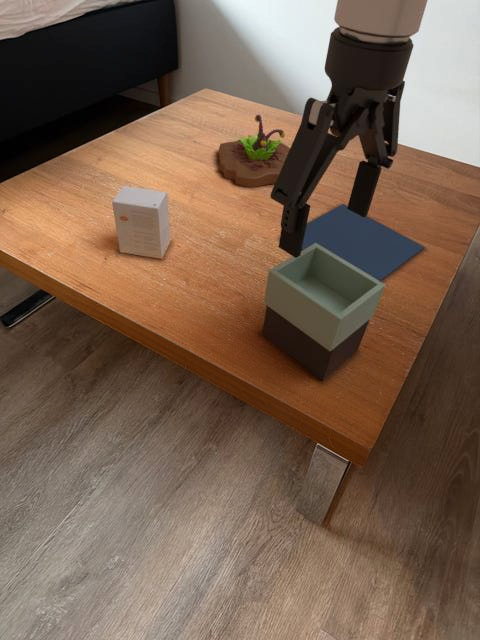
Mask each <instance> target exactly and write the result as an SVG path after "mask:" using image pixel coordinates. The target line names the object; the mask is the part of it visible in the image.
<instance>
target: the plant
mask: <svg viewBox="0 0 480 640" xmlns="http://www.w3.org/2000/svg"><path fill="white" fill-rule="evenodd" d="M254 121H255V122H256V123H258V133H256V135H255V137H254V136H253V135H251V134H248V135H247V137H248V138H245V137H240V136H239V137H238V139H237V140H235V141H234V140H233V141H227V142H221V143H220V144H219V147H218V157H219V172H220V173H222V174H223V177H224V178H225V179H226V180H227V179H228V180H231V181H234V183H235V185H239V186H241V187H244V188H245V187H246V188H255V187H260V186H265V185H275V183H276V180H277V178H278V176H279V173H280V171H281V169H282V166H283V164H284V162H285V160H286V157H287V155H288V153H289V150H290V148H291V147H289V146H288V145H287V144H285V143H283V142H282V140H281V139H278V140H272V139H270V137H271V136H272V135H274V134H275V133H278V136H279V137H280V138H282V139H283V138H285V136H286V132H285V131H284V130H283V129H281V128H280V129H279V128H277V129H273V130H271V131H270V132H269V133H268V134H266V133H264V125H263V120H262V115H261V114H256V115H255V117H254Z"/></svg>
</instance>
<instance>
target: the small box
mask: <svg viewBox="0 0 480 640" xmlns="http://www.w3.org/2000/svg"><path fill="white" fill-rule="evenodd" d="M168 196H169V195H168V191H162V190H157V189H149V188H143V187H136V186H130V185H129V186H128V185H123V186H122V188H121V189H120V190H119V192H118V193H117V194H116V196H115V197H114V198H113V200H112V201H111V205H112V210H113V217H114V223H115V230H116V235H117V242H118V247H119V252H120V253H122V254H123V253H124V254H130V255H136V256H142V257H148V258H154V259H159V260H162V259H163V257H164V255H165V253H166V251H167V249H168V247H169V246H170V243H171V228H170V214H169V213H170V212H169V200H168V198H169V197H168Z"/></svg>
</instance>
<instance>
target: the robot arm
mask: <svg viewBox="0 0 480 640" xmlns="http://www.w3.org/2000/svg"><path fill="white" fill-rule="evenodd" d="M427 3H428V0H337V1H336V6H335V12H334V17H333V19H334V22H335V24H336V25H337V26H338V27H336V28H334V29H333V31H332V32H330V35H329V42H328V47H327V53H326V58H325V63H324V73H325V75H326V76H327V77H328V78H329V81H330V83H331V86H330V90H329V93H328V95H327V97H326V99H325V100H319V99H318V98H317V99H316V98H314V97H309V98H308V99H307V100H306V102H305V104H304V109H303V114H302V118H301V121H300V125H299V127H298V129H297V132H296V134H295V136H294V139H293V141H292V143H291V146H290V147H289V148H290V150H289V153H288V155H287V157H286V160H285V162H284V164H283V166H282V169H281V171H280V173H279V176H278V178H277V180H276V183H275V184H273V187H272V190H271V192H270V199H271V200H273V201H274V202H276V203H278V204H279V205H282V206H283V208H282V212H281V213H282V214H281V220H280V228H281V229H280V235H279V240H278V241H279V242H278V248H279V249H281V250H282V251H284V252H285V253H286V254H289V255H290V256H291V257H292V256H293V257H295V258H297V257H299V256H300V255H301V250H302V245H303V240H304V235H305V230H306V225H307V223H308V222H309V221H308V220H309V215H310V211H311V205H310V204H309V203H307V202H308V201H309V199H310V198H311V197H312V194H313V192H314V191H315V189H316V188H317V186H318V184H319V183H320V181H321V180H322V178H323V177H324V175H325V173H326V172H327V170H328V168H329V167H330V165H331V163H332V161H334V158H335V157H336V155H338V154H337V153H339V152H340V151H343V150H345V149H346V147H347V146H348V144H349V143H350V141H352V140H354V138H356V137H357V136H358V139H359V142H360V145H361V149H362V152H363V155H364V159H365V160H367V161H365V160H364V159H363V160H361V161H359V162H358V167H357V170H356V174H355V177H354V181H353V185H352V189H351V192H350V196H349V199H348V204H347V206H348V207H347V209H349V210H350V211H352V212H354V213H356V214H358V215H360V216H362V217H366V216H367V217H368V214H369V211H370V208H371V205H372V201H373V198H374V195H375V192H376V188H377V185H378V182H379V179H380V175H381V172H382V168H385V169H386V170H389V169H390V168H391V167H392V166H393V164H394V159H392V158H394V157H395V156H396V154H397V153H398V148H399V147H398V146H399V144H398V143H399V131H400V117H401V116H400V115H401V101H402V97H403V93H404V89H405V85H406V82H405V81H406V80H404V79H405V76H406V72H407V70H408V65H409V62H410V59H411V56H412V52H413V49H414V43H413V40H412V38H411V37H413V36H414V35H416V34H417V33H419V31H420V29H421V25H422V21H423V17H424V14H425V10H426V7H427ZM329 131H330V132H329Z"/></svg>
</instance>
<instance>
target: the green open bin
mask: <svg viewBox="0 0 480 640" xmlns="http://www.w3.org/2000/svg"><path fill="white" fill-rule="evenodd" d="M385 288H386V284H385V283H383V282H382V281H378V280H377V279H375V278H373V277H372V276H370V275H368V274H367V273H365V272H363V271H362V270H360V269H358V268H357V267H355V266H353V265H352V264H350V263H348V262H347V261H345V260H343V259H342V258H340V257H338V256H337V255H335V254H333V253H332V252H330V251H328V250H327V249H325V248H324V247H322V246H320V245H319V244H317V243H314V244H313V245H311V246H309V247H308V248H306V249H304V250H303V251H301V255H300V256H299V257H297V258H295V257H293V256H292V255H291V256H290V257H289V258H287V259H285V260H284V261H282V262H280V263H279V264H277V265H275V266H274V267H273V268H270V269H269V270H268V273H267V280H266V286H265V293H264V300H263V304H264V305H266V306H269V307H270V308H271V309H273V310H274V311H275V312H277V313H278V314H279V315H281V316H282V317H284V318H285V319H286V320H288V321H289V322H290V323H292V324H293V325H294V326H296V327H297V328H299V329H300V330H301V331H303V332H304V333H305V334H307V335H308V336H310V337H311V338H312V339H314V340H315V341H316V342H318V343H319V344H320V345H322V346H323V347H325V348H326V349H327V350H329V351H331V350H333V349H334V348H335V347H336V346H338V345H339V344H340V343H341V342H343V341H344V340H345V339H346V338H347V337H349V336H350V335H351V334H352V333H354V332H355V331H356V330H357V329H358V328H360V327H361V326H362V325H363V324H365V323H366V322H367V321H368V320H369V321H370V320H371V319H372V318H373V317H374V315H375V313H376V310H377V308H378V305H379V304H380V300H381V298H382V295H383V293H384V291H385Z"/></svg>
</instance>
